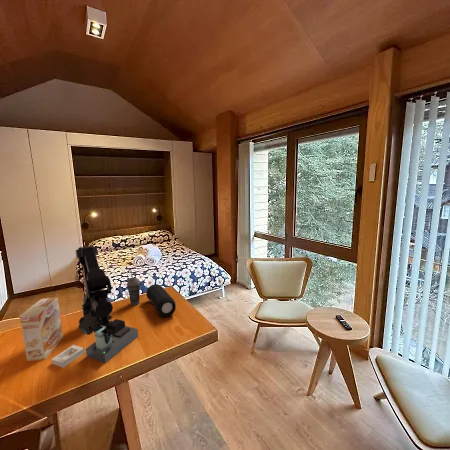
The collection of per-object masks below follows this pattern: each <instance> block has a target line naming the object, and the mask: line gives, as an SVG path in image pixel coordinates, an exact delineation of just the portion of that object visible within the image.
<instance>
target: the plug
mask: <svg viewBox="0 0 450 450" xmlns="http://www.w3.org/2000/svg"><path fill="white" fill-rule="evenodd" d="M104 328H105V327H103V328H101V329H100V330H98V331H97V332H95V333H94V341H95V342H96V349H98V350H101V351H103V350H104V349H105V348H107V347H108V346H109V345H111V344H112V338H110V341H109V343H108V344H106V342H105V338H104V334H103V333H101V331H102V330H104Z"/></svg>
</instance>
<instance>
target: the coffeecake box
mask: <svg viewBox="0 0 450 450" xmlns="http://www.w3.org/2000/svg"><path fill="white" fill-rule="evenodd" d="M60 313H61V312H60V305H59V299H58V297H46V298H40V299H39V300H38V301H37V302H35V303H34V304H33V305H32V306H30V307H29V308H28V309H26V310H25V311H24V312H23V313H21V314H20V315H19V319H20V327H21V333H22V338H23V343H24V344H23V345H24V350H25V352H24V353H25V355H26V356H25V357H26V361H27V362H31V361H40V360H41V361H42V360H46V359H47V358H48V357H49V355H51V353H52V352H53V351H54V350H55V348H56V347H57V345H58V344H59V343H60V342H61V340H62V339H63V338H64V335H63V334H64V333H63V326H62V320H61V314H60Z"/></svg>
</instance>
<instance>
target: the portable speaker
mask: <svg viewBox="0 0 450 450" xmlns="http://www.w3.org/2000/svg"><path fill="white" fill-rule="evenodd" d="M146 297H147V299H148V301H149V302H150V303H151V305H152V306H153V308H154V309H155V310H156V311H157V314H158V315H159V316H161V317H165V318H166V317H167V318H168V317H169V316H172V315H173V314H174V313H175V311H176V301H175V299H174V298H173V296H171V295H170V294H169V293H168V292H167V291H166V289H164V287H163V286H162V285H160V284H157V283H156V284H151V285H150V286H149V287H148V288H147V291H146Z"/></svg>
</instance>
